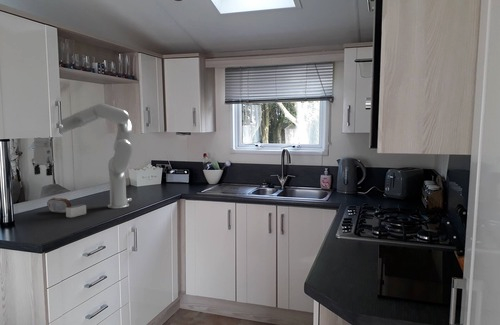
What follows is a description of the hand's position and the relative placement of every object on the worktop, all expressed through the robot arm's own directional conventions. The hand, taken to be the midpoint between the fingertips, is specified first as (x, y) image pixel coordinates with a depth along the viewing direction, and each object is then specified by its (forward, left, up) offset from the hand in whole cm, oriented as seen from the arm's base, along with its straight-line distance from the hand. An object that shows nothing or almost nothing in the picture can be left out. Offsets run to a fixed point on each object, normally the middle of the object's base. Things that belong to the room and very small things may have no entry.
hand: (43, 174), depth 206 cm
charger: (-6, +18, -23) cm, 29 cm away
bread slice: (-6, +3, -23) cm, 24 cm away
